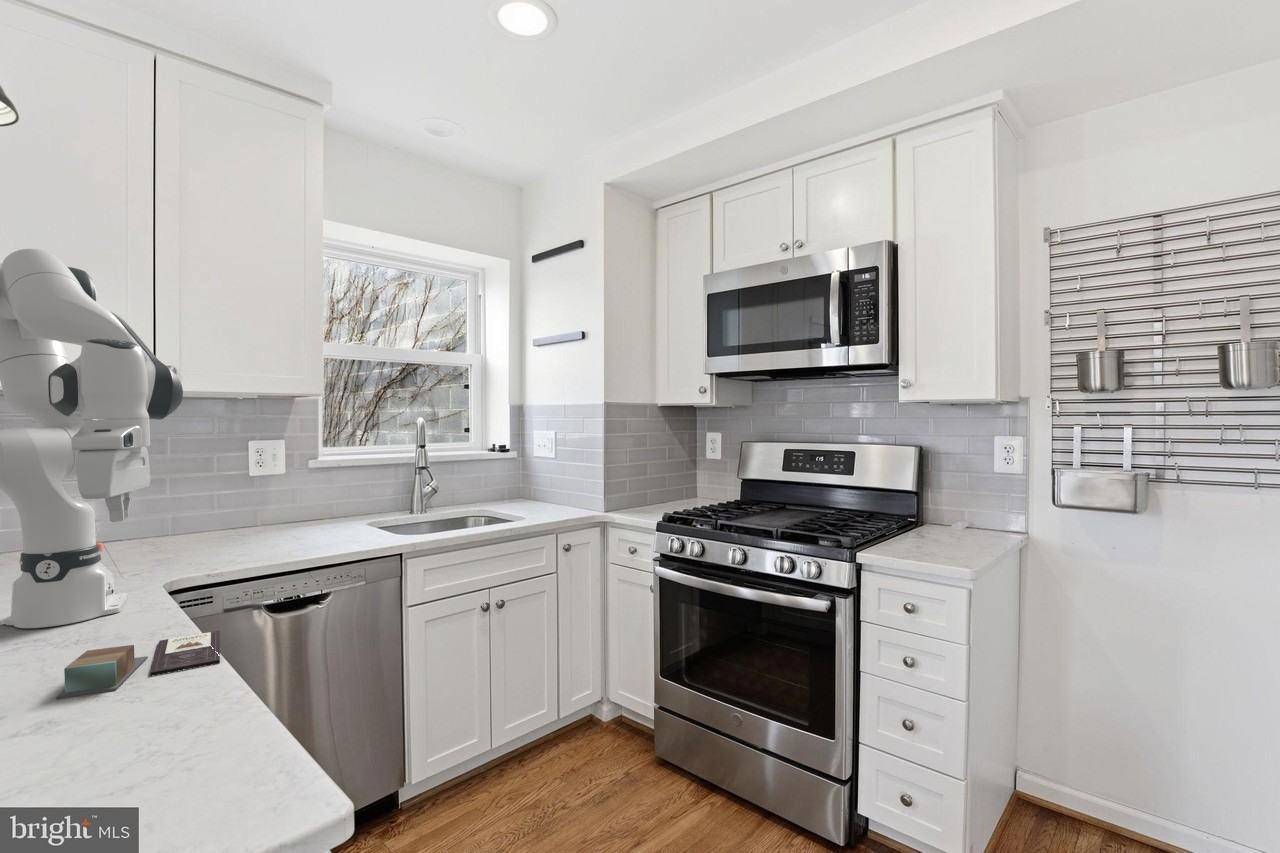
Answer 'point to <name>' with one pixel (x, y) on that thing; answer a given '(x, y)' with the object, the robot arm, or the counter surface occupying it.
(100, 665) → the teal brown rectangular block
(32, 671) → the counter surface
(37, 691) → the counter surface
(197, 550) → the counter surface
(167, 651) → the chocolate bar
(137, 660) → the rubber mat
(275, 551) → the counter surface
